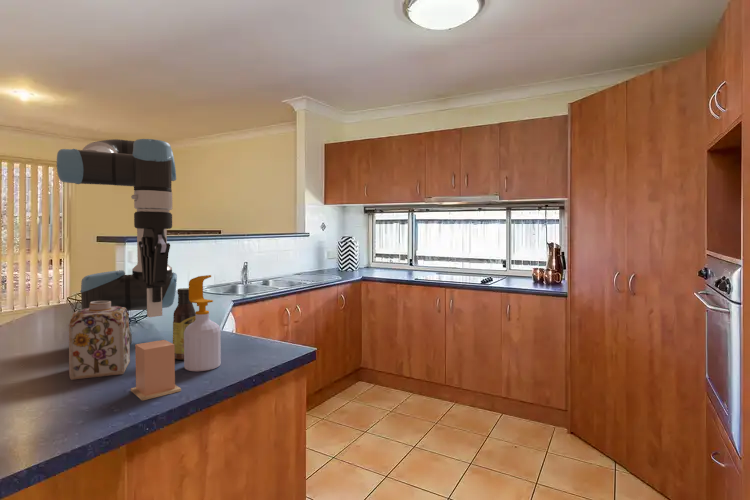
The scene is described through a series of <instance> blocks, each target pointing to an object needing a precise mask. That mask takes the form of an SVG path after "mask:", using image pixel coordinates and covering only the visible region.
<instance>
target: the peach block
mask: <svg viewBox="0 0 750 500" xmlns="http://www.w3.org/2000/svg"><path fill="white" fill-rule="evenodd" d="M134 348H135V354H134V355H135V387H136V389H137V390H139V391H140V392H141V393H142V394H144V395H145V396H146V395H150V394H154V393H159V392H163V391H167V390H171V389H175V385H176V371H175V370H176V368H175V367H176V364H175V363H176V362H175V361H176V359H175V347H174V344H173V342H170V341H168V340H166V339H162V340H160V339H159V340H155V341H150V342H149V341H147V342H144V343H142V342H141V343H137V344H135V346H134Z"/></svg>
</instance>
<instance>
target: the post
mask: <svg viewBox="0 0 750 500" xmlns="http://www.w3.org/2000/svg"><path fill="white" fill-rule="evenodd" d="M130 392H131V393H133V394H134V395H135V396H136V397H137V398H139V400H140V401H147V400H151V399H156V398H159V397H163V396H166V395H170V394H175V393H178V392H182V388H181V387H179V386H178V385H177V384H175V389H171V390H167V391H163V392H159V393H154V394H150V395H146V396H145V395H144V394H142V393H141V392H140V391H139V390H137V389H136V386H134V387H130Z"/></svg>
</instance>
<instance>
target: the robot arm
mask: <svg viewBox="0 0 750 500" xmlns="http://www.w3.org/2000/svg"><path fill="white" fill-rule="evenodd" d="M56 170H57V171H56V172H57V176H58V179H59V180H60V181H61V182H62V183H65V184H66V183H67V184H75V185H103V186H106V185H107V186H108V185H109V186H117V187H119V186H120V187H133V194H131V200H134V202H133V206H134V209H135V210H136V211H135V212H134V213H133V227H134V228H135V229H136V235H137V236H136V237H137V239H136V240H137V241H136V244H137V245H136V246H137V247H136V248H137V250H136V251H137V255H136V257H137V264H135V266H134V267H133V268H132V270H131V271H132V273H131V274H126V272H125V271H124V270H122V269H121V270H112V271H104V272H97V273H92V274H89V275H85V276H84V277H82V279H81V281H80V282H81V285H80V291H79V292H80V294H81V296H80V297H81V298H80V299H81V302H80V303H81V310H82V309H85V308H89V305H90V302H93V301H111V306H120V307H125V308H126V309H127V311H128V312H129V311H130V312H131V311H142V310H146V317H148V318H153V317H154V318H155V317H161V316H163V309H166V308H170V307H171V306H173V304H174V302H175V298H176V291H177V280H178V275H177V273H176V272H173V267H172V266H170V265H169V254H170V249H171V244H170V242H168V237H167V235H168V234H167V233H168V230H171V229H172V228H173V214H172V213H171V212H170V211H172V210H173V191H172V190H173V189H172V182H174V181H176V180H177V170H176V162H175V156H174V153H173V149H172V147H171V144H170V143H169V142H167V141H164V140H160V139H152V138H138V139H135V140H127V139H118V138H115V139H113V138H112V139H105V140H102V139H101V140H97V141H93V142H90V143H87V145H85V146H84V147H83V148H82V149H77V148H72V149H71V148H62V149H59V150H58V151H57V154H56ZM129 339H130V340H129V341H130V345H131V344H132V343H133V337H132V333H131V329H129Z"/></svg>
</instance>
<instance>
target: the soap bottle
mask: <svg viewBox="0 0 750 500" xmlns="http://www.w3.org/2000/svg"><path fill="white" fill-rule="evenodd" d="M209 278H212V274H207V275H198V276H196V277H193V278H191V279H190V280H188V288H189V301H190V302H192V304H196V307H198V310H195V312H196V320H195V321H194V322H193V323H191V324H189V325H188V326H187V327H186V329H185V331H184V359H183V361H184V362H183V364H184V365H183V366H184V367H183V368H184V370H186V371H190V372H195V373H196V372H207V371H211V370H215V369H217V368H219V367H220V366H221V362H222V360H221V359H222V348H221V345H222V342H221V341H222V340H221V339H222V338H221V337H222V336H221V328H220V325H219V324H218V323H216V322H215V321H213V320H211V319H210V311H209V310H208V309H206V307H208V306H209V305H208V304H209V303H213V302H214V300H213V299H206V298H204V281H205V280H207V279H209Z"/></svg>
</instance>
